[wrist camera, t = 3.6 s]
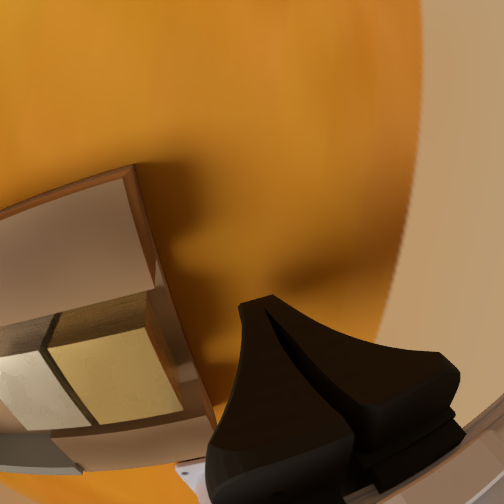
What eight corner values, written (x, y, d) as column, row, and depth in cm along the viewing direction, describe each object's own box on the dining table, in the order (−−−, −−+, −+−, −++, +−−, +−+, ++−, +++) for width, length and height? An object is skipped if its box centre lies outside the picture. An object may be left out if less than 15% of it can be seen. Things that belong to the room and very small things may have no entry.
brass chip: (178, 366, 13) (183, 410, 10) (104, 381, 12) (100, 424, 10) (146, 287, 11) (144, 327, 9) (64, 308, 10) (47, 348, 8)
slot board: (213, 407, 15) (224, 452, 12) (-16, 433, 12) (-26, 465, 10) (133, 163, 10) (121, 175, 7) (-117, 273, 7) (-145, 298, 4)
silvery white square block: (97, 382, 12) (91, 425, 10) (38, 391, 11) (27, 430, 9) (56, 310, 10) (38, 350, 8) (-5, 325, 10) (-27, 362, 7)
